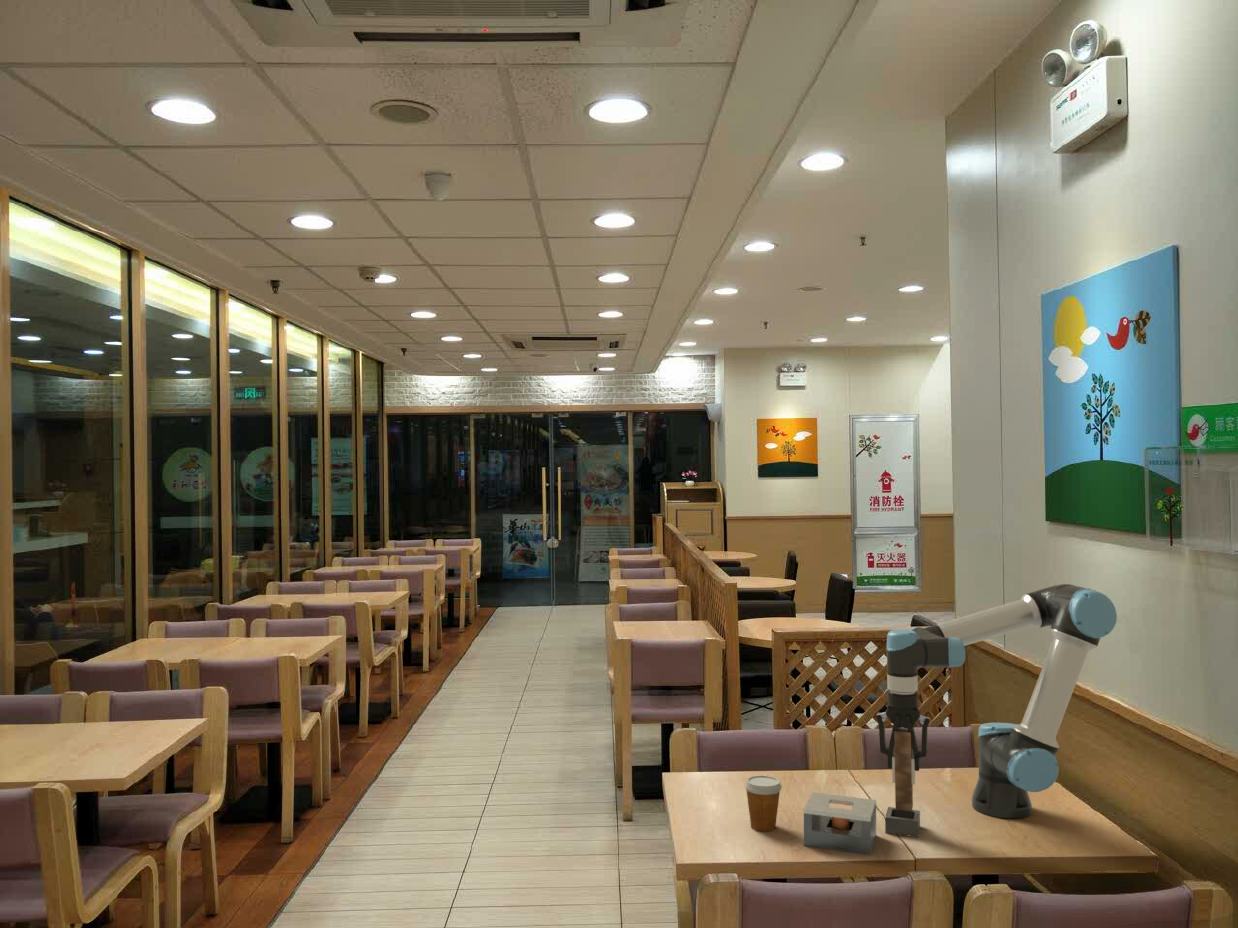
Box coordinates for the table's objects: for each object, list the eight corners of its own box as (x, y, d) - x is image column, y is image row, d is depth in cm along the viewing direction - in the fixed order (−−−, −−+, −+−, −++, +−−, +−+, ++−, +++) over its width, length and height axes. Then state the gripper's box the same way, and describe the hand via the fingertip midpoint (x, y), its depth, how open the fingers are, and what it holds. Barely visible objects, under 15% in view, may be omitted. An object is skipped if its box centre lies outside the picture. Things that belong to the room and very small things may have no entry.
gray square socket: (920, 825, 246) (920, 810, 246) (918, 837, 239) (918, 821, 239) (888, 821, 249) (888, 806, 249) (885, 832, 242) (885, 817, 242)
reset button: (850, 826, 238) (850, 810, 238) (848, 832, 234) (848, 816, 234) (832, 824, 240) (832, 808, 240) (830, 830, 236) (830, 814, 236)
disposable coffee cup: (756, 817, 253) (756, 772, 253) (788, 825, 247) (788, 779, 247) (737, 827, 245) (737, 781, 245) (769, 836, 239) (769, 789, 239)
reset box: (876, 835, 240) (876, 799, 240) (870, 854, 228) (870, 817, 228) (812, 826, 246) (812, 792, 246) (803, 845, 234) (803, 808, 234)
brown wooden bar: (912, 805, 245) (911, 728, 245) (911, 811, 241) (910, 732, 242) (896, 804, 247) (895, 727, 247) (895, 809, 243) (894, 731, 243)
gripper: (938, 689, 245) (939, 780, 245) (870, 685, 251) (871, 773, 251) (936, 696, 238) (938, 790, 238) (866, 691, 244) (868, 782, 244)
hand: (903, 781), depth 244 cm, fingers closed on brown wooden bar, 4 cm apart
